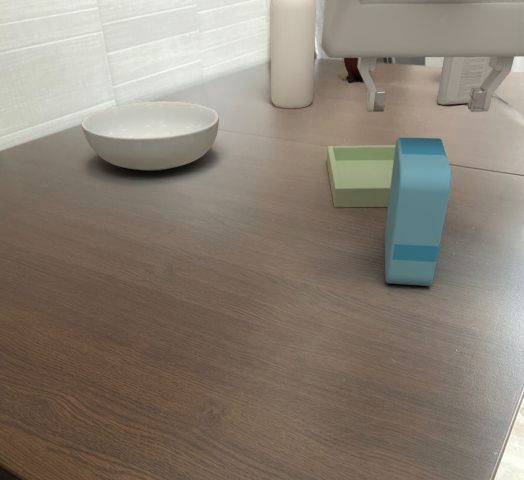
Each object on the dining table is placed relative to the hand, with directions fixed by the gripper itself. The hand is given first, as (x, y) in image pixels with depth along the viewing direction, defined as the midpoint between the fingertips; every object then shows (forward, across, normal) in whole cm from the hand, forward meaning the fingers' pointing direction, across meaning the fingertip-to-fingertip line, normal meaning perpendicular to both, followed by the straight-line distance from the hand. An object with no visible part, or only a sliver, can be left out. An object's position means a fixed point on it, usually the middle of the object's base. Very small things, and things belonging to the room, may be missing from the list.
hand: (425, 110), depth 51 cm
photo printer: (+16, -23, -69) cm, 74 cm away
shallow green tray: (+16, 0, -24) cm, 29 cm away
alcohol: (+16, +12, -70) cm, 73 cm away
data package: (+16, 0, 0) cm, 16 cm away
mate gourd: (+16, -4, -91) cm, 92 cm away
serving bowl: (+16, +34, -34) cm, 50 cm away
